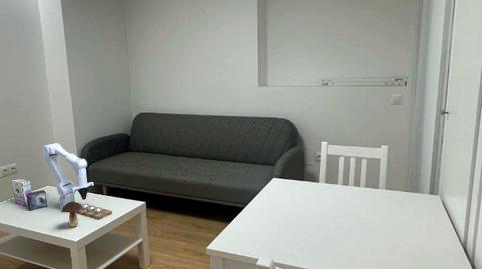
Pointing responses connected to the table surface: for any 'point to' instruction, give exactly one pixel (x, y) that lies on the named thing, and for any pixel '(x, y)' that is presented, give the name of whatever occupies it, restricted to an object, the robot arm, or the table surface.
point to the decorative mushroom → (72, 212)
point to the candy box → (21, 191)
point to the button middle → (91, 208)
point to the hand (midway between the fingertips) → (84, 199)
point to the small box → (36, 200)
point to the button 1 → (84, 206)
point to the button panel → (94, 215)
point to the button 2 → (98, 210)
